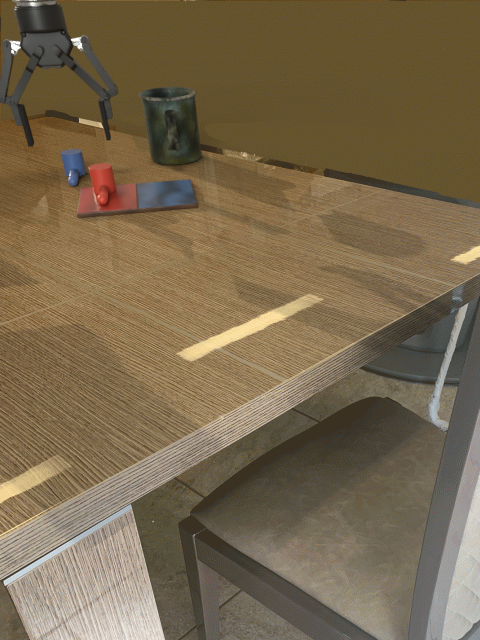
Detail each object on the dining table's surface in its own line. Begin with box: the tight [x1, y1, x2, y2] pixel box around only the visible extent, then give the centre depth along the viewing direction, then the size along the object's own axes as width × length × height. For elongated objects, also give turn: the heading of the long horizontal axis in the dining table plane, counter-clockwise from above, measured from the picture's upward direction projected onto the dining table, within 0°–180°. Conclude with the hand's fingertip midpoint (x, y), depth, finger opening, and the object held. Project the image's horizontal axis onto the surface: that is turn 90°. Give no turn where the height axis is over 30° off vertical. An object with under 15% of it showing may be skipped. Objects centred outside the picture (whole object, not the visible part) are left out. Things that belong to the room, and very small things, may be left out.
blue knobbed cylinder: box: [60, 148, 87, 187], centre depth 117 cm, size 10×4×4 cm, turn 14°
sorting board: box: [76, 178, 199, 219], centre depth 109 cm, size 19×14×1 cm
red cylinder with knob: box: [88, 162, 117, 205], centre depth 107 cm, size 10×4×4 cm, turn 13°
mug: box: [138, 86, 202, 166], centre depth 124 cm, size 11×15×12 cm
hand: (70, 141), depth 117 cm, fingers open, 13 cm apart
